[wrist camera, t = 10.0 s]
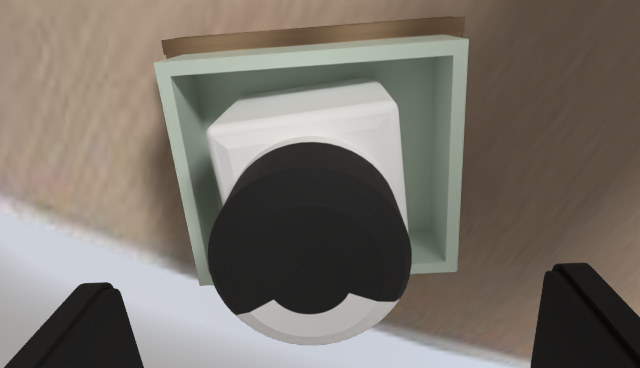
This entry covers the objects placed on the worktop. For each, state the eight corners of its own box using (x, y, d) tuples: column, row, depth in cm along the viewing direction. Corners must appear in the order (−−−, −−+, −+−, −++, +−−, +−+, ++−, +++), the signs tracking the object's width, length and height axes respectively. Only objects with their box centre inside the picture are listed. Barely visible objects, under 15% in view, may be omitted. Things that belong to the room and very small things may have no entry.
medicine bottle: (238, 94, 22) (148, 176, 11) (376, 74, 22) (430, 137, 11) (265, 218, 25) (214, 386, 14) (389, 202, 24) (443, 362, 13)
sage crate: (443, 34, 22) (468, 38, 18) (437, 233, 26) (457, 271, 22) (183, 54, 22) (153, 62, 18) (218, 245, 26) (199, 285, 22)
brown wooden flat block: (448, 16, 24) (464, 16, 21) (441, 221, 29) (454, 243, 26) (179, 37, 25) (161, 40, 22) (216, 234, 29) (204, 257, 26)
